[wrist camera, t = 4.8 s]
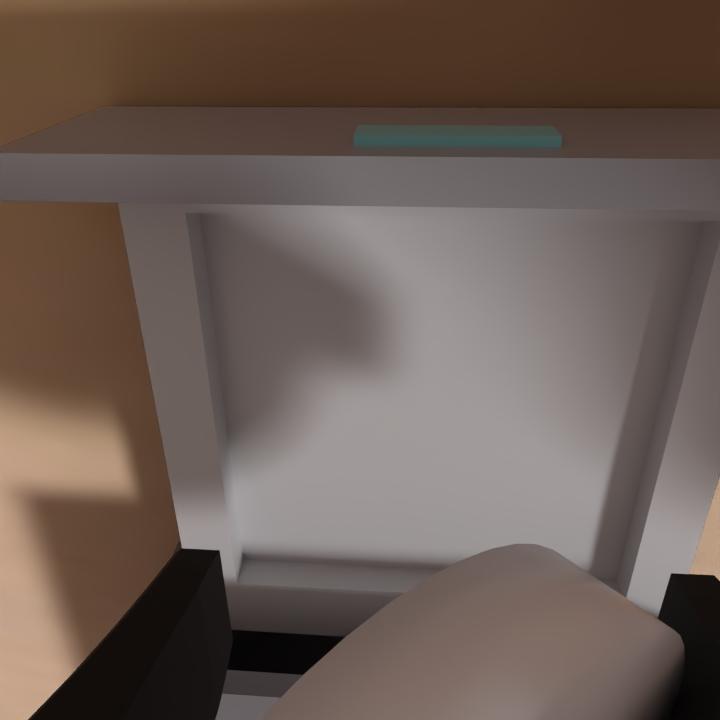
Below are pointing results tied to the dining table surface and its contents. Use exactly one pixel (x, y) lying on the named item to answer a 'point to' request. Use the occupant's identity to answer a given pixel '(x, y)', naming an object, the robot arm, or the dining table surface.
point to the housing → (266, 669)
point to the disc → (498, 650)
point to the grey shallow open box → (415, 336)
